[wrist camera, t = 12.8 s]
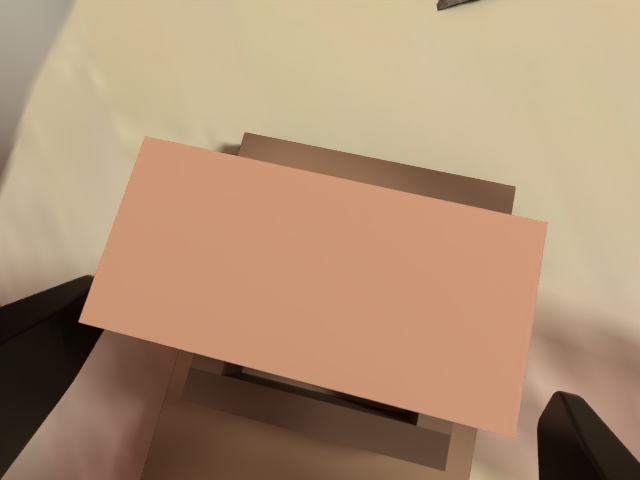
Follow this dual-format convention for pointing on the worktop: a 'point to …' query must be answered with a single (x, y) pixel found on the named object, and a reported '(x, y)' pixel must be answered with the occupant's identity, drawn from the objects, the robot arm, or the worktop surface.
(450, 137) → the worktop surface
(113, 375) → the worktop surface
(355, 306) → the clay rectangular block
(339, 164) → the square socket base
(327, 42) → the worktop surface
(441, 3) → the driftwood
